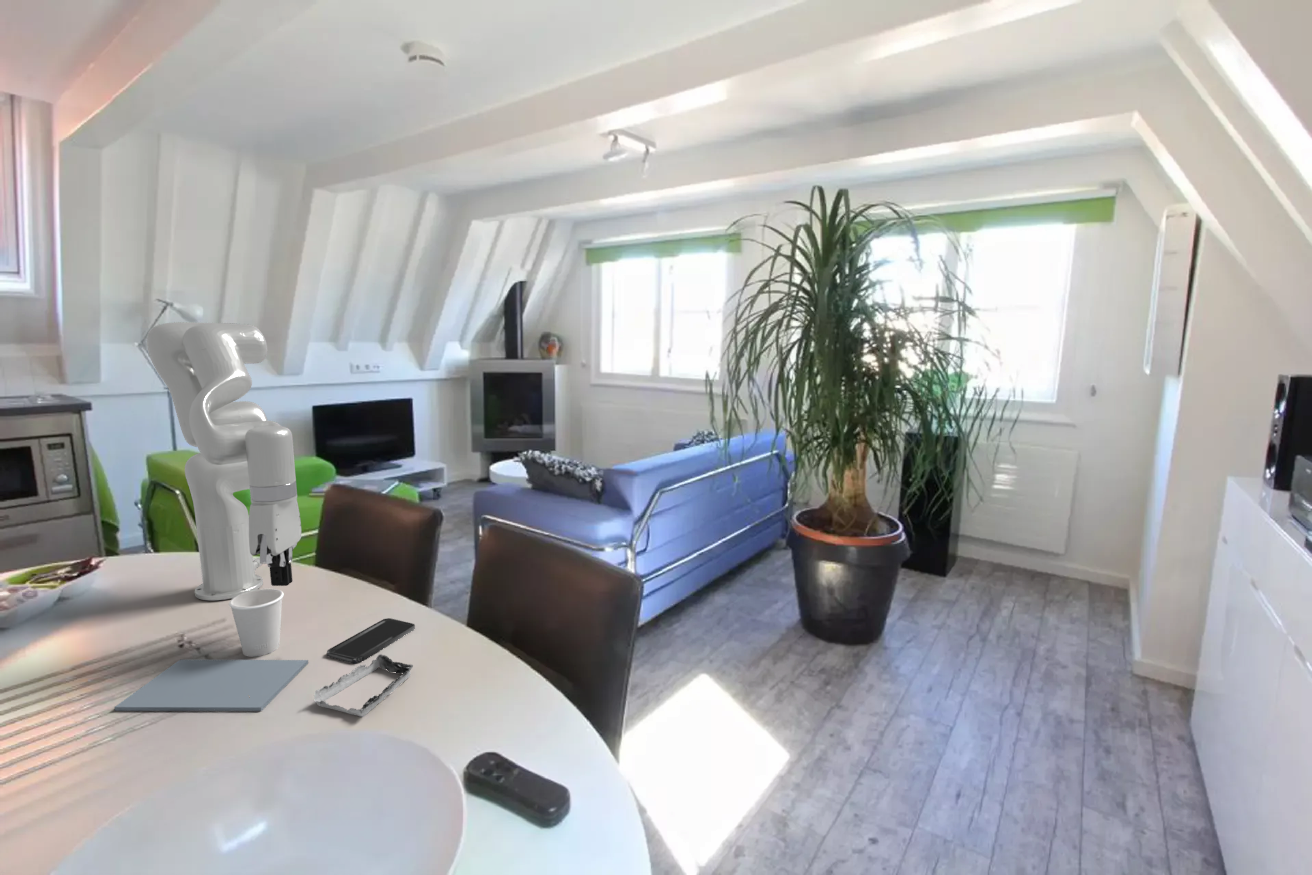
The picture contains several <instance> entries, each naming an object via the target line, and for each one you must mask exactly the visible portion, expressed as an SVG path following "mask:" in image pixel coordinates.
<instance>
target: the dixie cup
mask: <svg viewBox="0 0 1312 875" xmlns="http://www.w3.org/2000/svg"><path fill="white" fill-rule="evenodd" d="M284 594H285V593H284V592H283V591H282V590H281V589H277V588H269V587H268V588H259V589H257V590H252V591H248V592H245V593H242V594H240V595H237V596H236V597H234V598H231V600H230V601H229V602H228V605H229V607H230V609H231V612H232V615H233V619H234V620H233V621H234V624H235V628H236V632H237V634H238V635H237V636H238V639H239V642H240V647H241V650H242V654H243V656H245V657H251V658H254V657H255V658H256V657H262V656H266V655H269V654H271V653H273V652H275V651H277V650H278V648H280V642H281V641H280V640H281V626H282V624H281V623H282V622H281V621H282V608H283V606H282V605H283V598H284Z"/></svg>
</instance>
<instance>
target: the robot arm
mask: <svg viewBox="0 0 1312 875" xmlns="http://www.w3.org/2000/svg"><path fill="white" fill-rule="evenodd" d="M146 344H147V350H148V355H149V358H150V360H151V363H152V365H153V367H154V369H155V370H156V373H158V375H159V376H160V378H161V379H162V382H164V384H165V385H166V387H167V388H168V391H169V393H170V395H171V399H172V402H173V406H174V409H175V412H176V416H177V420H178V423H179V427H180V430H181V433H182V436H183V438H184V440H185V441H186V443H187V445H188V444H189V446H191V447H195V448H197V449H198V450H199V452H198V453H196V454H194V455H192V456H190V457H189V459H187V461H186V462H185V465H184V475H185V479H186V482H187V485H188V487H189V491H190V492H189V493H190V494H191V495H190V496H191V499H192V503H193V508H194V510H193V511H194V517H195V518H194V519H195V527H196V533H197V543H198V545H197V546H198V553H199V561H200V563H199V564H200V570H201V571H200V572H201V581H202V582H201V583H200V584H198V586H196V588H195V589H194V596H195V597H196V598H197V599H198V600H199V599H200V600H203V601H223V600H224V601H225V600H230V599H231V600H232V599H233V598H234V597H236V596H237V595H240V594H242V593H245V592H248V591H252V590H257V589H261V587H262V586H263V583H264V580H263V579H264V578H263V577H262V576H261V575H259V574H256V570H257V569H258V568H259V567H261V566H262V565H267V567H268V568H269V574H270V575H269V576H270V585H271V586H273V587H277V586H278V587H285V586H289V585H290V584H291V583H293V572H292V570H293V569H292V562H293V551H294V549H295V548H296V547H297V544H298V542H300V540H301V538H302V522H301V513H300V509H299V508H300V507H299V504H298V490H297V478H296V465H295V464H296V463H295V456H294V455H295V453H294V452H295V451H294V441H293V440H294V438H293V433H292V431H291V429H289V427H286V426H282V425H281V424H279V422H277V421H273V420H268V417H267V415H266V413H265V411H264V410H263V408H262V406H260V405H259V404H257V403H256V402H253V401H248V400H247V401H246V400H245V401H243V400H242V401H241V400H240V401H237V400H239V399H241V398H243V397H244V396H246V394H248V393H249V392H250V390H251V388H252V385H253V380H252V377H251V374H250V373H249V371H248V369H247V366H246V365H248V364H260V363H262V362H264V360H265V359H266V358H267V355H268V343H267V340H266V338H265V336H264V334H263V333H262V331H261V330H260V329H259V328H258V327H256V326H255V325H253V324H249V323H248V324H246V323H243V324H242V323H230V322H191V321H189V322H187V321H183V322H182V321H181V322H179V321H178V322H177V321H176V322H175V321H174V322H166V323H165V322H164V323H161V324H158V325H154V326H153V327H152V328H150V329H149V331H148V333H147V337H146ZM247 490H249V495H250V503H251V504H250V507H249V510H248V508H247V507H246V505H245V504H244V503H243V502H242V501H241V500H239V499H237V497H235V495H234V493H236V492H241V491H247ZM258 555H259V557H258V558H255V559H253V556H258Z"/></svg>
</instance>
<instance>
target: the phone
mask: <svg viewBox="0 0 1312 875" xmlns="http://www.w3.org/2000/svg"><path fill="white" fill-rule="evenodd" d="M414 629H415V630H416V625H415V623H412V622H408V621H404V620H400V619H395V618H392V617H391V618H383V619H381V620H379V621H378V622H376V623H374V624H372V625H371V626H368V627H366V628H365V629H364V630H362V631H360V632H357V633H356V634H354V635H353V636H350V637H349V638H347V639H345V640H343V641H341V642H340V643H338V644H336V645H334V646H332V647H330V648H329V649H327V650H326V656H327V658H330V659H333V660H338V661H340V662H341V661H342V662H345V663H349V664H352V665H353V664H354V665H356V664H357V665H358V664H361V663H363V662H364V661H365V660H368V659H369V658H371V657H373V656H374V655H375V654H378V653H379V652H381V651H382V650H384V649H386V648H387V647H390V644H391V645H392V644H394V643H396V642H397V641H399V640H400V639H403V636H404V635H405V636H407V635H409V634H410V633H412V632H413V631H415V630H414ZM411 631H412V632H411ZM408 633H409V634H408ZM406 634H407V635H406ZM405 636H404V637H405ZM398 639H399V640H398ZM395 641H396V642H395ZM383 648H384V649H383ZM380 650H381V651H380ZM372 655H373V656H372ZM370 656H371V657H370ZM367 658H368V659H367ZM362 661H363V662H362Z"/></svg>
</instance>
